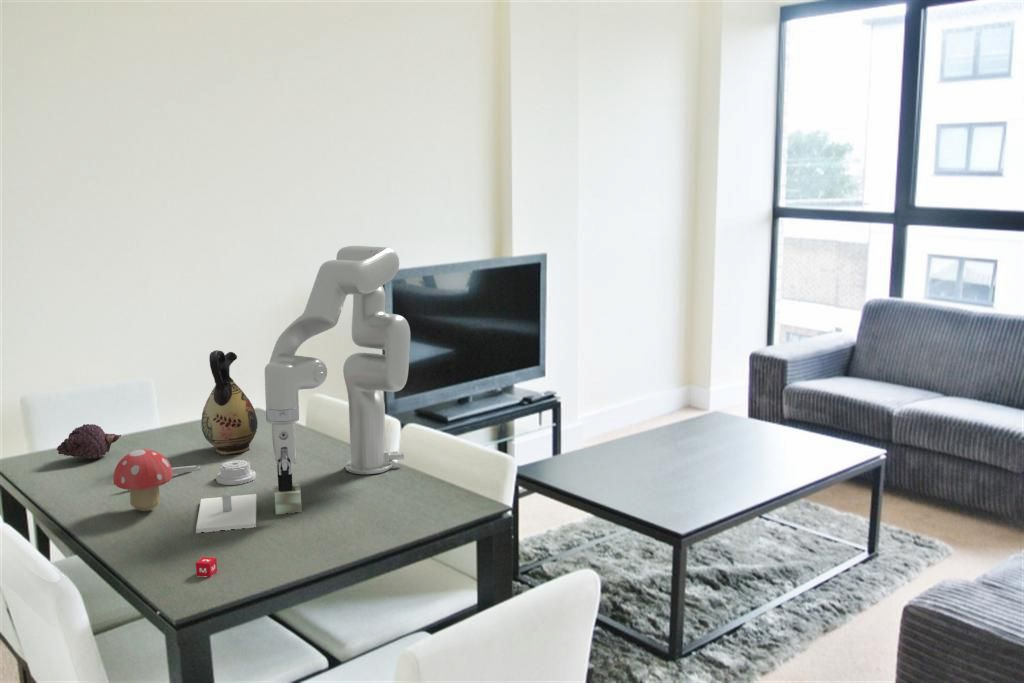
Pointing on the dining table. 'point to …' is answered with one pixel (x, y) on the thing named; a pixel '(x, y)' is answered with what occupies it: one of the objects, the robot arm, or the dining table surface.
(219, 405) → the ceramic jug
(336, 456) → the dining table surface
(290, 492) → the pale green open box
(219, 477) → the mechanical component
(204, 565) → the dice
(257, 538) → the dining table surface
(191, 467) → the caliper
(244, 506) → the pin board
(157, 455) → the decorative mushroom
